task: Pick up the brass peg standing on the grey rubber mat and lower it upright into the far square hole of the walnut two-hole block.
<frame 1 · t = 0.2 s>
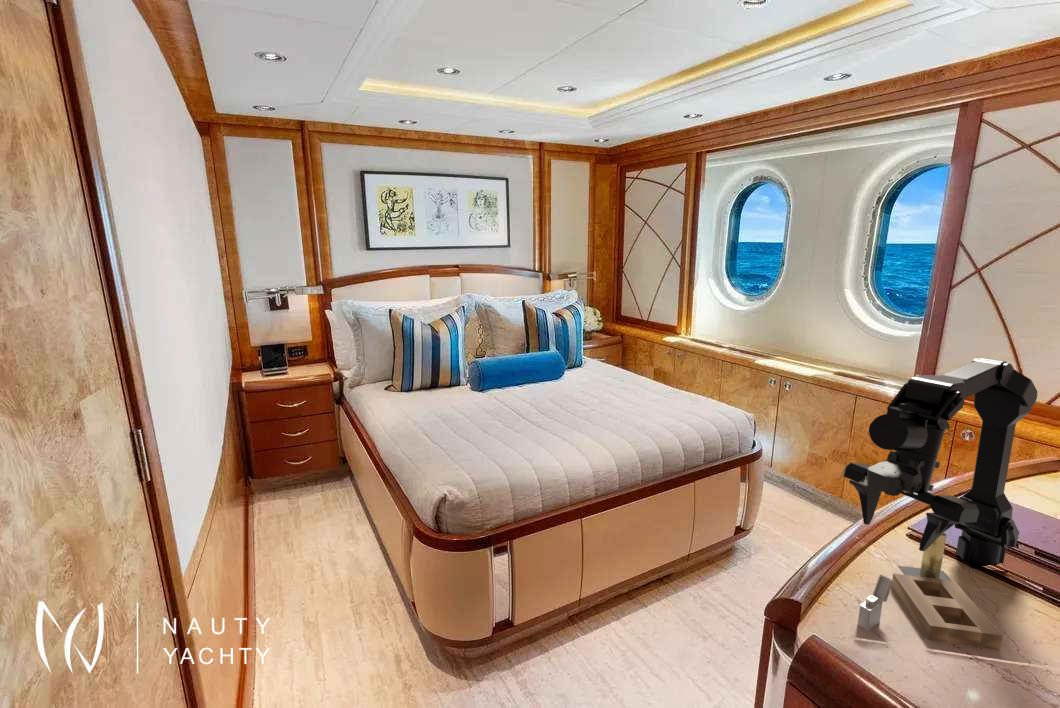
hand: (892, 536, 87), 15 cm above the table, tool pointing down, fingers open, 9 cm apart
lighter: (872, 622, 88), on the table
peg: (929, 578, 99), resting on mat
mat: (928, 580, 99), on the table
hole block: (940, 616, 89), on the table
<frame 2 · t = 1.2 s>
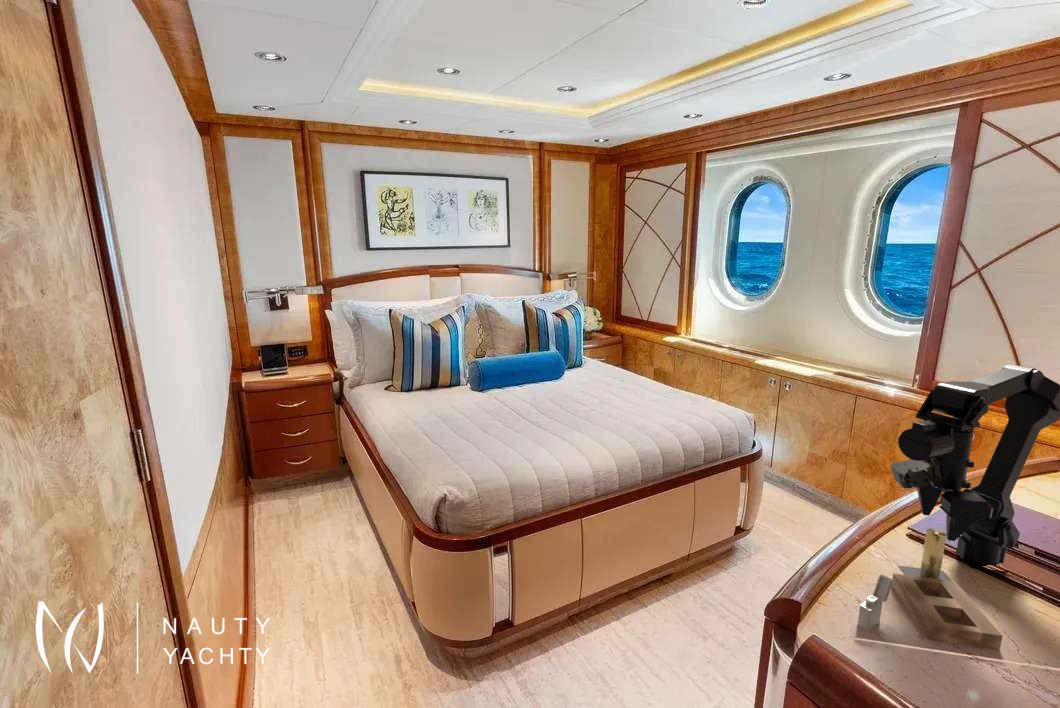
hand: (937, 526, 96), 12 cm above the table, tool pointing down, fingers open, 9 cm apart
nothing on the table moved.
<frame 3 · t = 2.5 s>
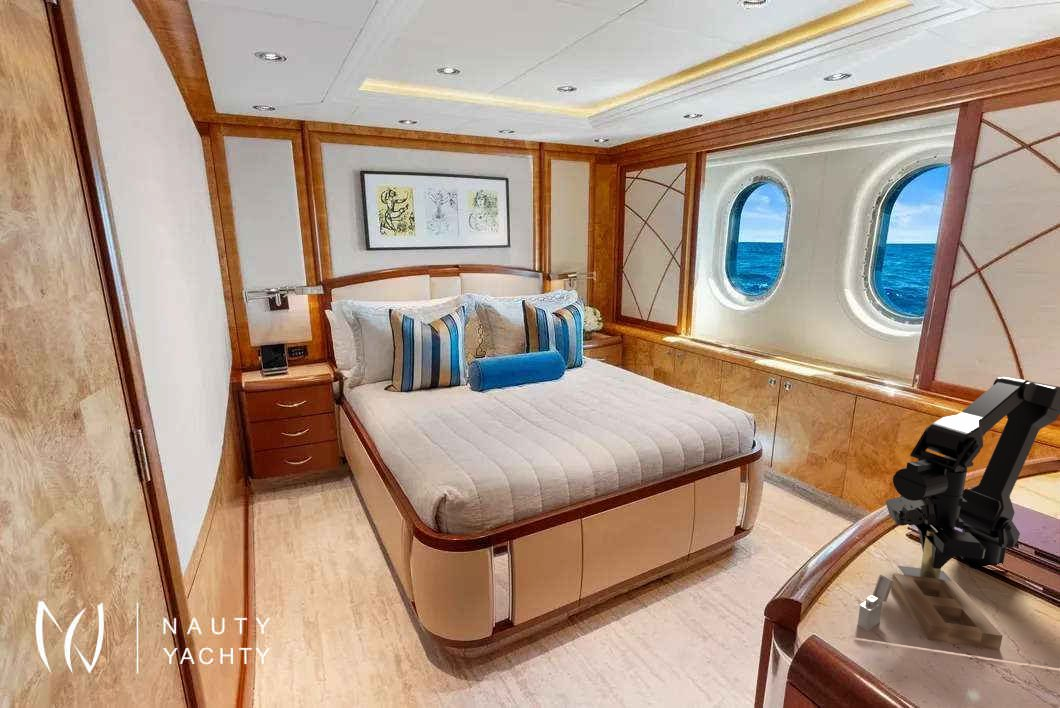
hand: (931, 562, 98), 4 cm above the table, tool pointing down, fingers closed on peg, 3 cm apart
peg: (929, 578, 99), resting on mat, touching gripper
everything else where it was.
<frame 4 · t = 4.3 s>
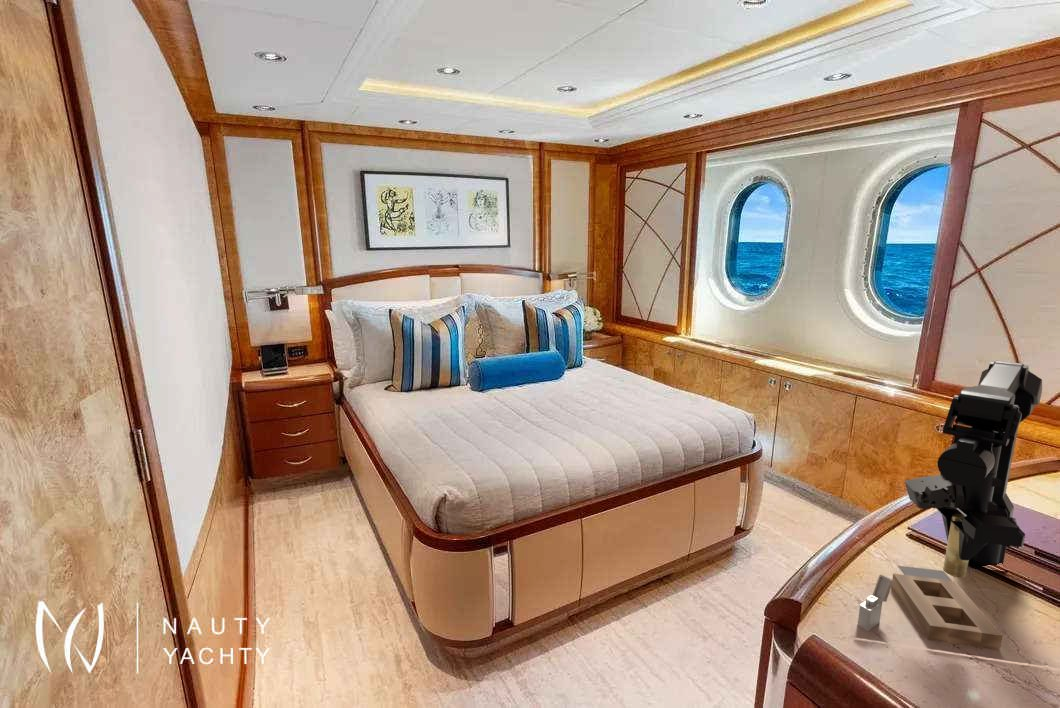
hand: (958, 553, 85), 14 cm above the table, tool pointing down, fingers closed on peg, 3 cm apart
peg: (954, 572, 85), point 10 cm above the table, touching gripper
everything else where it was.
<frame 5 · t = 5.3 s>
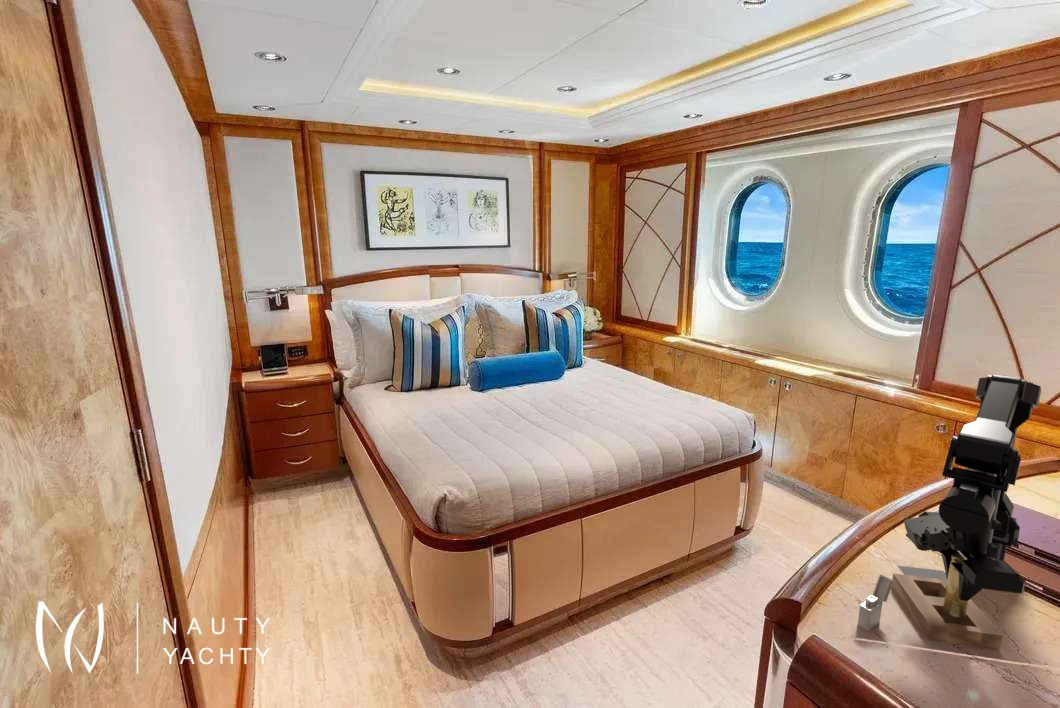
hand: (957, 593, 84), 7 cm above the table, tool pointing down, fingers closed on peg, 3 cm apart
peg: (954, 611, 85), point 4 cm above the table, touching gripper
everything else where it was.
when the fingers open (5 cm above the table, at t = 6.0 s): peg drops 1 cm, resting in hole block.
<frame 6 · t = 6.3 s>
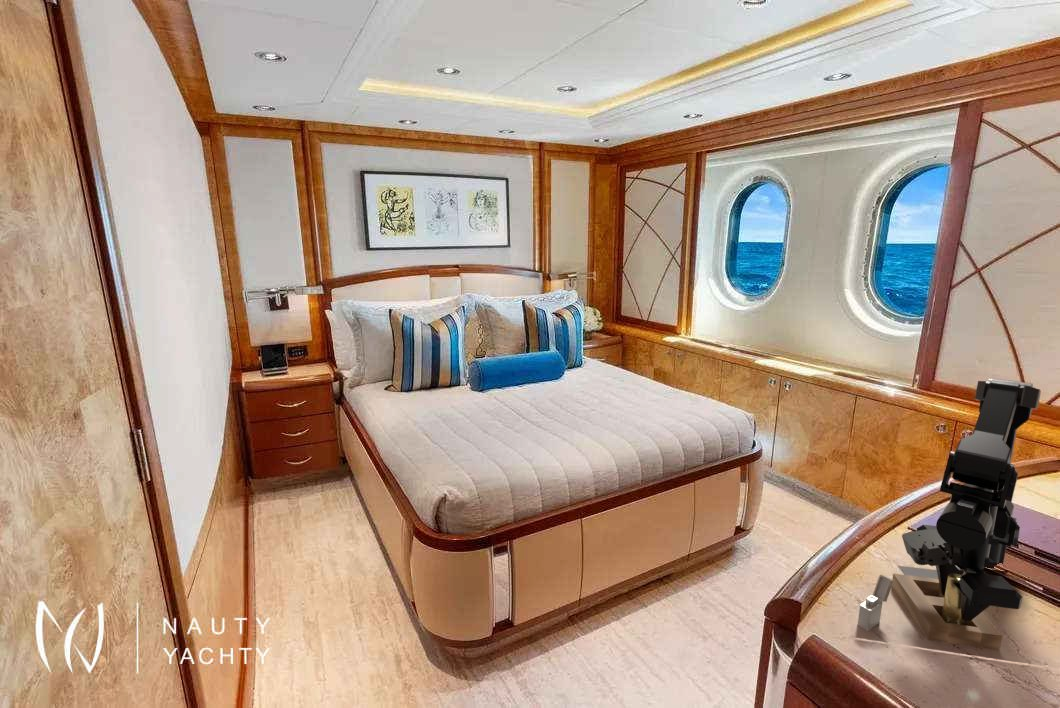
hand: (955, 607, 85), 5 cm above the table, tool pointing down, fingers open, 6 cm apart
peg: (950, 630, 86), resting in hole block
everything else where it was.
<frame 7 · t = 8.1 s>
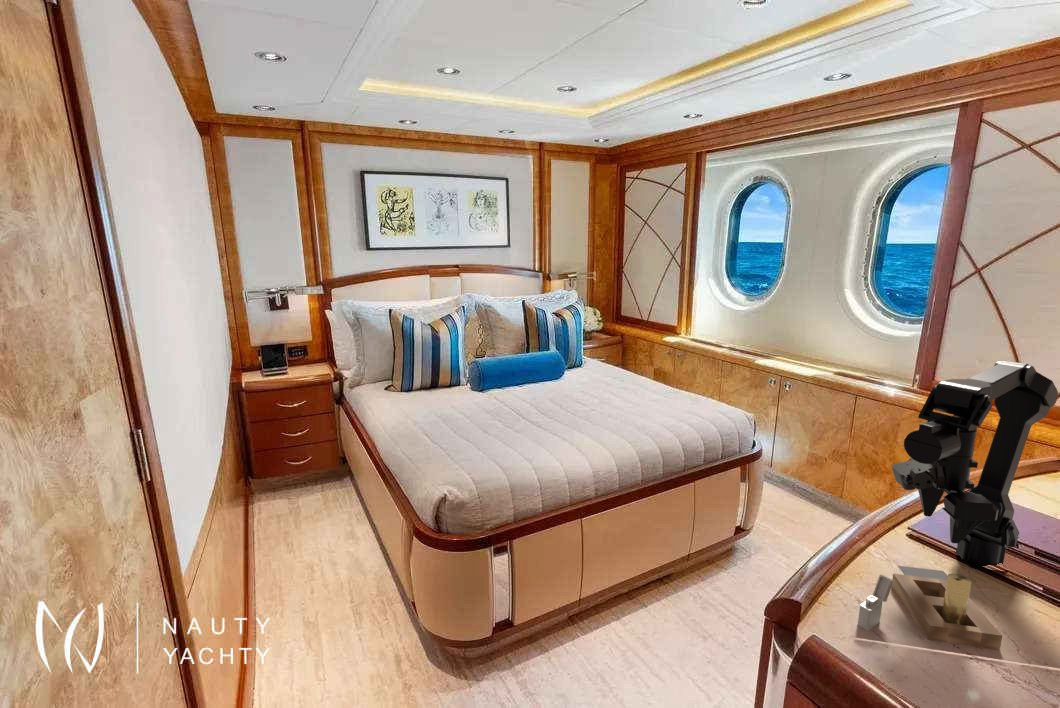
hand: (940, 528, 94), 13 cm above the table, tool pointing down, fingers open, 9 cm apart
nothing on the table moved.
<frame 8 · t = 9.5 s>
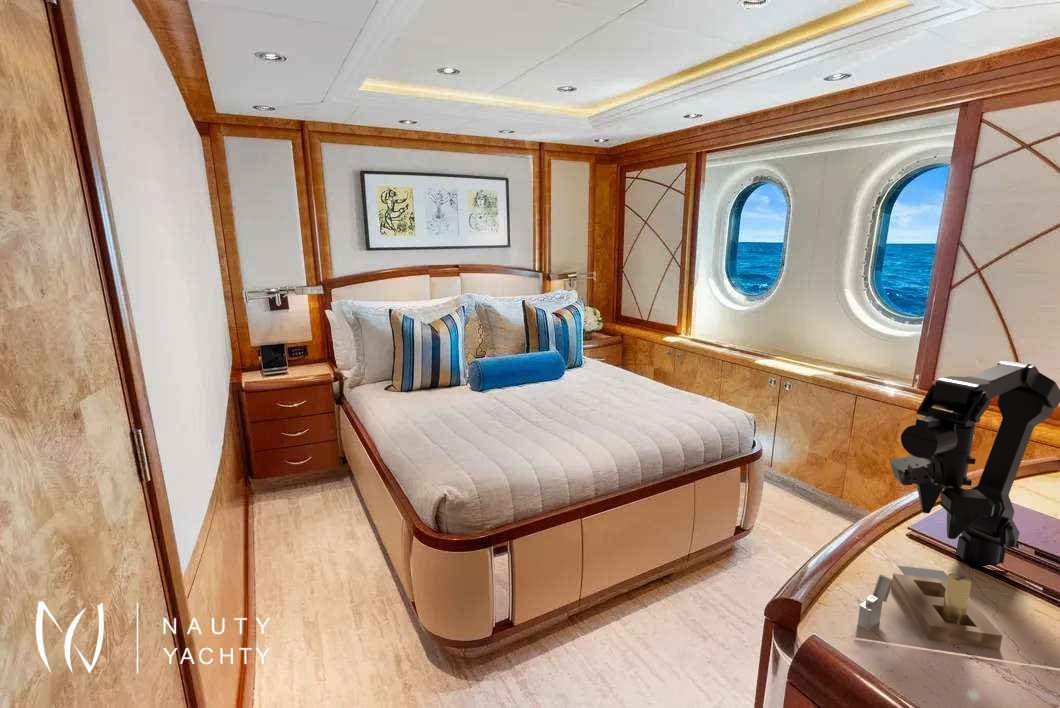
hand: (937, 525, 94), 13 cm above the table, tool pointing down, fingers open, 9 cm apart
nothing on the table moved.
at the end: peg 0.1 cm from the target spot on the hole block, point 0.0 cm above the hole block's base; peg tilted 0°; the gripper is holding nothing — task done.
